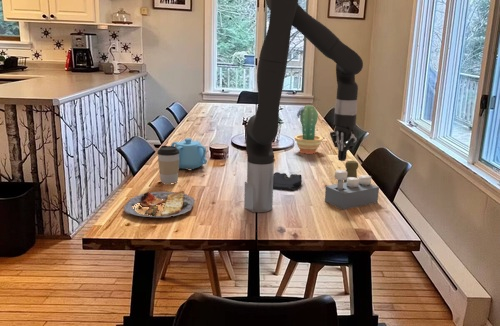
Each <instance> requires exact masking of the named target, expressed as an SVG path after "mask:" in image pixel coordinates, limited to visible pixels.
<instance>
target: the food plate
mask: <svg viewBox="0 0 500 326" xmlns="http://www.w3.org/2000/svg"><path fill="white" fill-rule="evenodd" d="M162 199H163V200H162ZM195 202H196V200H195V198H194V197H192V196H190V195H189V194H187V193H185V192H184V191H183V190H181V191H179V192H177V191H176V192H175V191H167V190H166V191H163V190H162V191H153V192H152V191H147V192H145V193H141V194H140V195H136V196H134V197H131V198H130V199H128V201H127V202H126V204H125V205H124V206H123V212H125V213H126V214H129V215H134V216H139V217H143V218H147V217H148V218H171V216H173V217H176V216H180V215H183V214H186V213H187V212H190V211H191V210H192V209H193V206H194V204H195ZM137 203H140V205H141V206H142V207H149V209H148V210H146V211H144V214H143V213H140V212H139V213H140V214H139V213H137V212H136V211H135V207H134V209H133V207H132V206H134V205H135V204H137ZM161 203H165V205H164V207H163V211H162V213H161V212H160V215H157V214H158V213H157V211H158V206H156V205H160V204H161ZM137 205H138V204H137ZM161 205H162V204H161ZM135 206H136V205H135ZM156 213H157V214H156ZM145 214H148V215H145ZM155 214H156V215H155ZM149 215H150V216H149ZM151 215H155V216H151Z"/></svg>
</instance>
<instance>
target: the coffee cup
mask: <svg viewBox="0 0 500 326" xmlns="http://www.w3.org/2000/svg"><path fill="white" fill-rule="evenodd" d="M179 153H180V152H179V150H178V149H177V148H176V147H175V145H174V146H171V145H161V147H159V149H158V150H157V158H158V159H157V162H158V170H159V171H158V173H159V176H160V178H159V179H160V183H161V182H162V183H165V184H164V185H166V184H170V185H172V184H171V183H175V182H177V181H179V180H178V179H179V172H180V171H179V169H180V168H179ZM162 183H161V184H162ZM177 183H178V182H177ZM175 184H176V183H175Z"/></svg>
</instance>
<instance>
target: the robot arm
mask: <svg viewBox="0 0 500 326" xmlns="http://www.w3.org/2000/svg"><path fill="white" fill-rule="evenodd" d="M265 3H266V6H267V8H268V9H269V23H268V29H267V31H266V35H265V37H264V40H263V43H262V46H261V48H260V49H261V50H260V53H259V57H258V62H257V63H258V64H257V71H256V72H257V73H256V85H257V87H256V88H257V108H256V114H253V115H252V116H250V118H249V119H248V120H247V121H246V122H247V123H246V127H245V147H246V148H245V152H246V156H247V160H246V161H247V165H246V167H247V168H246V171H247V172H246V174H247V175H246V181H244V201H243V203H244V205H243V207H244V208H245V209H246V210H248V211H250V212H251V213H266V212H271V210H273V202H274V201H273V199H274V189H273V176H274V173H275V172H274V169H275V153H274V151H273V146H272V145H273V144H272V143H273V141H275V139H276V137H277V136H278V132H279V115H280V104H281V103H280V102H281V97H282V93H283V88H284V83H285V77H286V73H287V64H288V59H289V58H288V57H289V49H290V44H291V42H290V41H291V34H292V33H291V32H292V27H293V28H294V29H296V30H297V31H298V32H299V33H300V34H301V35H303V37H304V38H306V40H307V41H309V42H310V43H311V44H312V45H313V46H314V47H315V48H316V49H317V51H319V52H320V53H321V54H323V55H324V56H325V57H327V58H328V59H330V60H332V61H333V62H334V63H335V64H336V65H335V75H336V76H335V77H336V83H337V86H336V87H337V88H336V99H335V105H334V116H333V117H334V118H333V125H334V127H335V128H334V130H333V131H329V136H330V138H331V141H332V143H333V146H334V148H336V149H337V150H338V152H337V158H338V159H337V160H338V161H341V162H344V161H346V159H347V156H348V155H347V152H348V151H351V150H352V149H353V148H354V147H355V146H356V144H357V143H358V142H359V137H356V136H355V131H354V128H355V127H356V124H357V113H358V95H359V94H358V93H359V92H358V91H359V85H358V83H357V82H356V75H358V74H360V73H361V72H362V69H363V68H364V62H363V59H362V57H361V56H360V55H359V54H358V53H357V52H356V51H355V50H353V49H352V48H351V47H350V46H348V45H347V44H346V43H344V42H343V41H341V39H340V38H339V37H338V36H337V35H336V34H335V33H334V32H333V31H332V30H330V29H329V28H328V27H327V26H326V25H324V24H323V23H322V22H320V21H319V20H317V19H316V18H315V17H313V16H312V15H311V14H309V13H308V12H307V11H306V10H305V9H304V8H303V7H302V6H301V5H300V4H299V0H265Z"/></svg>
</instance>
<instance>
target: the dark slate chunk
mask: <svg viewBox="0 0 500 326" xmlns="http://www.w3.org/2000/svg"><path fill="white" fill-rule="evenodd" d="M302 178H303V177H302V174H296V173H295V174H294V173H291V174H290V175H289V176H288V175H287V173H285V172H283V173H280V172H279V171H278V172H274V176H273V191H274V190H277V191H285V192H296V191H298V190H299V189H300V188H301V186H302V185H303V183H302V182H303V180H302Z"/></svg>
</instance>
